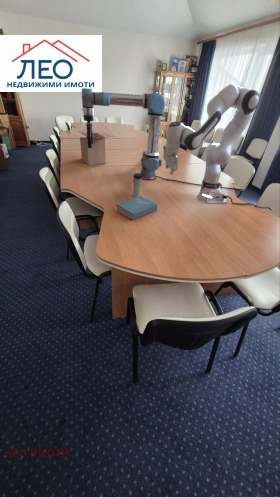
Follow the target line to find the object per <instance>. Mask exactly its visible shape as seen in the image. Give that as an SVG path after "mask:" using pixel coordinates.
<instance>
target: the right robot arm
mask: <svg viewBox="0 0 280 497" xmlns="http://www.w3.org/2000/svg"><path fill="white" fill-rule="evenodd" d="M260 99H261V94H260V93H259V92H258V91H257V90H255V89H252V88H248V87H241V86H237V85H235V84H234V83H230V84H227V85H226V86H225V87H223V88H222V89H221V90H220V91H218V92H217V93H216V94H215V95H214V96H213V97H212V98H211V99H210V100H209V102H208V103H207V105H206V113H207V116H208V117H207V119H206V121H205V122H204V123H203V124H202V125H201V126H200V127H199V129H197V130H194V129H192V128H191V127H190V126H186V125H184V124H183V123H182V122H181V121H171V123H169V124H168V127H167V130H166V139H165V140H166V142H165V145H163V157H162V158H163V160H164V161H165V168H166V169H169V168H170V171H169V175H170V176H173V175H174V172H176V171H178V169H179V158H178V155H179V151H180V145H183V146H184V147H185V148H186V149H187V151H191V152H192V151H195V150H197V149H199V148H200V147H201V145H202V143H203V142H204V141H205V139H206V137H207V136H208V135H209V134H210V133H211V132H212V131H213V130H214V129H215V128H216V126H217V125H218V124H219V123H220V122H221V120H222V116H224V114H225V113H226V112H227V111H228V110H229V109H230V108H234V109H235V112H234V115H232V117H231V119H230V120H229V122H228V123H227V124H226V126H225V128H224V129H223V131H222V133H221V137H220V140H219V143H217V142H213V143H210V144H208V145H207V146H206V148H205V169H204V175H203V178H202V181H201V183H200V184H201V186H200V190H199V192H198V194H197V196H196V198H197V199H198V201H200V202H204V203H206V204H209V205H214V204H227V201H228V200H227V199H229V200H230V202H231V204H234V205H244V206H245V205H251V206H254V207H255V208H258V209H269V210H270V211H273V210H272V208H271V207H270V206H264V207H263V206H258V205H256V204H253V203H251V202H250V203H249V202H243V203H241V202H240V203H238V202H234V201H233V199H232V197H231V196H229V193H227V192H225V191H224V190H223V188H220V187H223V184H222V182H220V177H221V173H222V169H221V166H226V165H227V164H229V162H230V161H231V159H232V152H233V149H234V147H235V145H236V143H237V141H238V140H239V138H240V137H241V135H242V134H243V132H244V131H245V129H247V127H248V125H249V123H250V121H251V120H252V117H253V112H254V111H255V110H256V109H257V107H258V105H259V103H260Z"/></svg>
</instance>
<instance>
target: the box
mask: <svg viewBox="0 0 280 497" xmlns="http://www.w3.org/2000/svg"><path fill="white" fill-rule="evenodd" d="M92 132H93V135H92V136H93V144H92V148H88V140H87V139H86V137H87V130H77V132H76V131H70V133H71V134H72V135H74V136H75V137H77V138H79V144H80V153H81V160H83V162H85V163H86V165H87V166H95V165H97V166H98V165H106V163H107V162H106V158H107V157H106V138H113V137H114V136H113V135H111V134H109V133H108V132H105V131H98V132H96V131H95V130H93V129H92Z"/></svg>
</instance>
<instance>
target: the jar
mask: <svg viewBox="0 0 280 497" xmlns="http://www.w3.org/2000/svg"><path fill="white" fill-rule="evenodd" d="M141 186H142V179H135V178H133V193H132V195H133V198H137V197H140V196H141Z"/></svg>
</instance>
